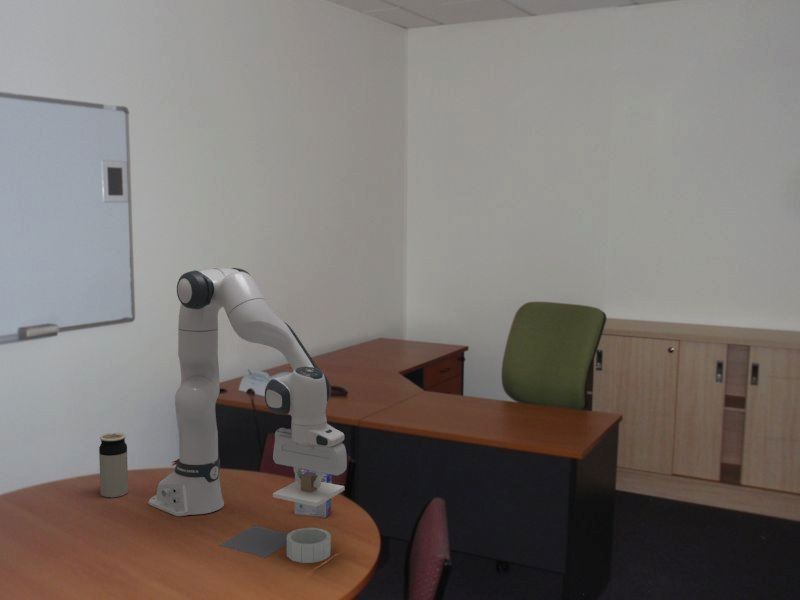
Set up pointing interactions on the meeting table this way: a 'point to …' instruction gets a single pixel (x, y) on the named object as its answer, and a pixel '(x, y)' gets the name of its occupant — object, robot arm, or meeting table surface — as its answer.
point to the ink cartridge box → (318, 511)
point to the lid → (308, 491)
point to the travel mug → (113, 465)
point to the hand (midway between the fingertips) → (309, 485)
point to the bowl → (308, 545)
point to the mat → (257, 541)
